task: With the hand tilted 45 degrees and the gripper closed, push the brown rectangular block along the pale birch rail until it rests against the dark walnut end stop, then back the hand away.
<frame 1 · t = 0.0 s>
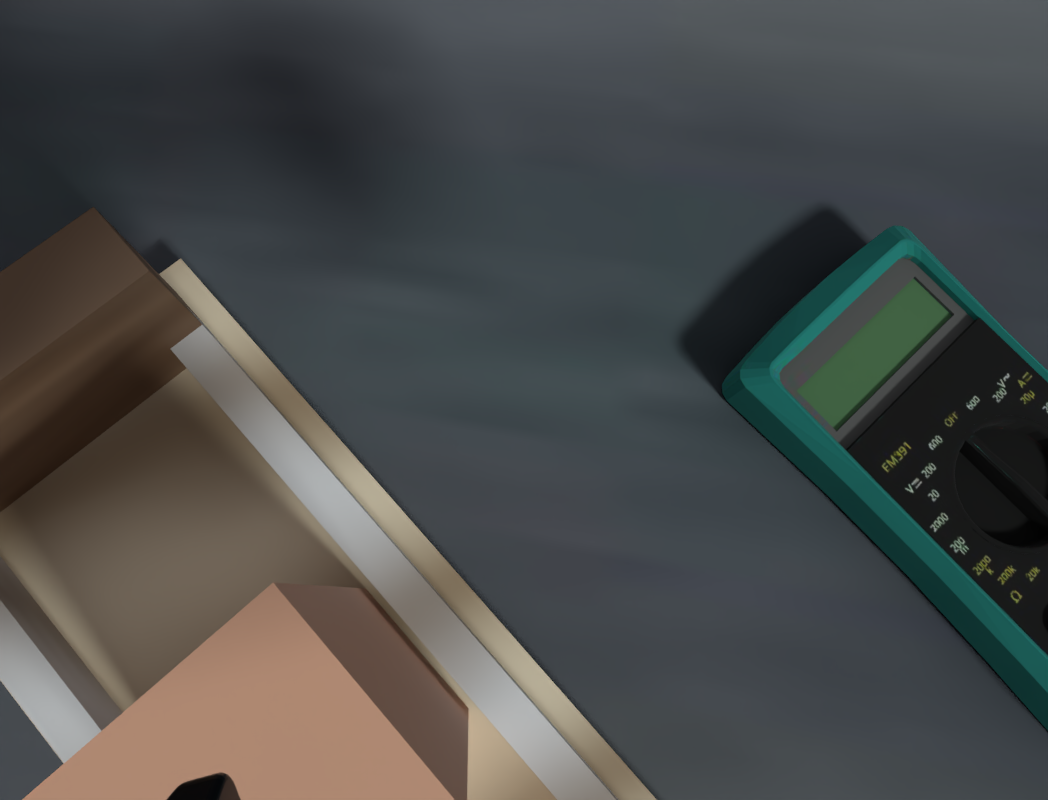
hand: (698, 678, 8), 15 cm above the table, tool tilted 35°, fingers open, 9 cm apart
rail: (311, 694, 21), on the table
digital multimeter: (948, 484, 25), on the table
brown rectangular block: (276, 778, 15), point 7 cm above the table, slide at 0.0 cm
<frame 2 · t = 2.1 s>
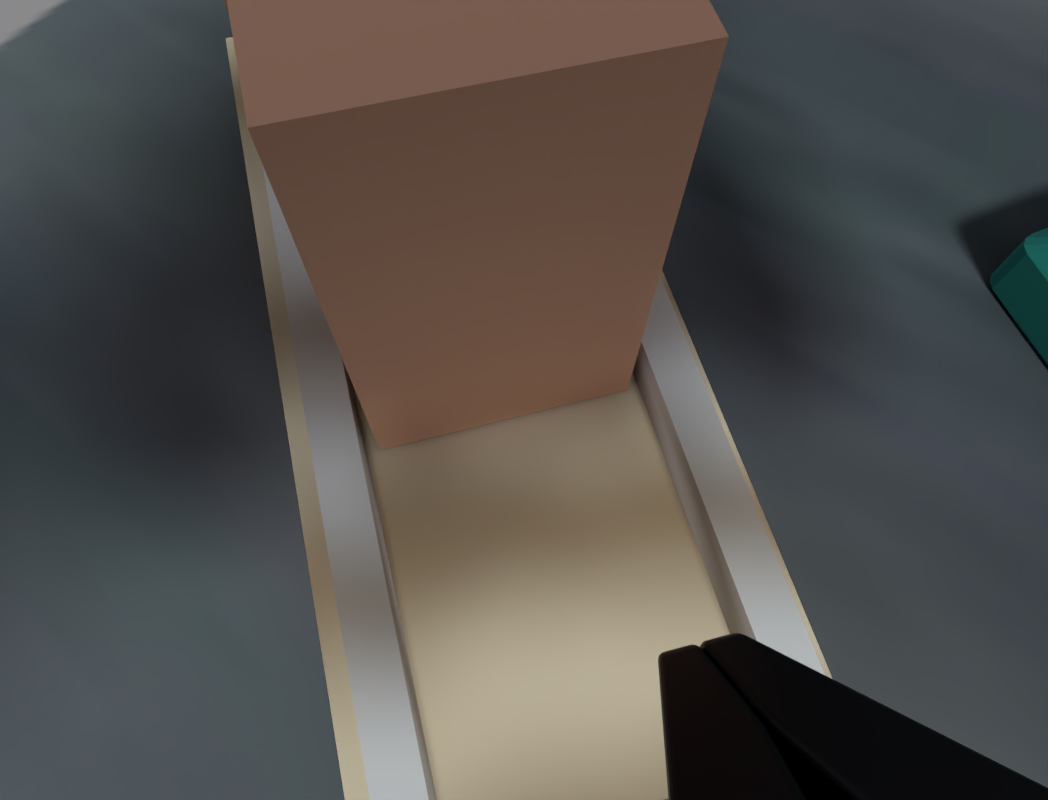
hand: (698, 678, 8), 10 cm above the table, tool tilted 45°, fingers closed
rail: (478, 345, 21), on the table
brown rectangular block: (476, 216, 15), point 7 cm above the table, slide at 0.0 cm
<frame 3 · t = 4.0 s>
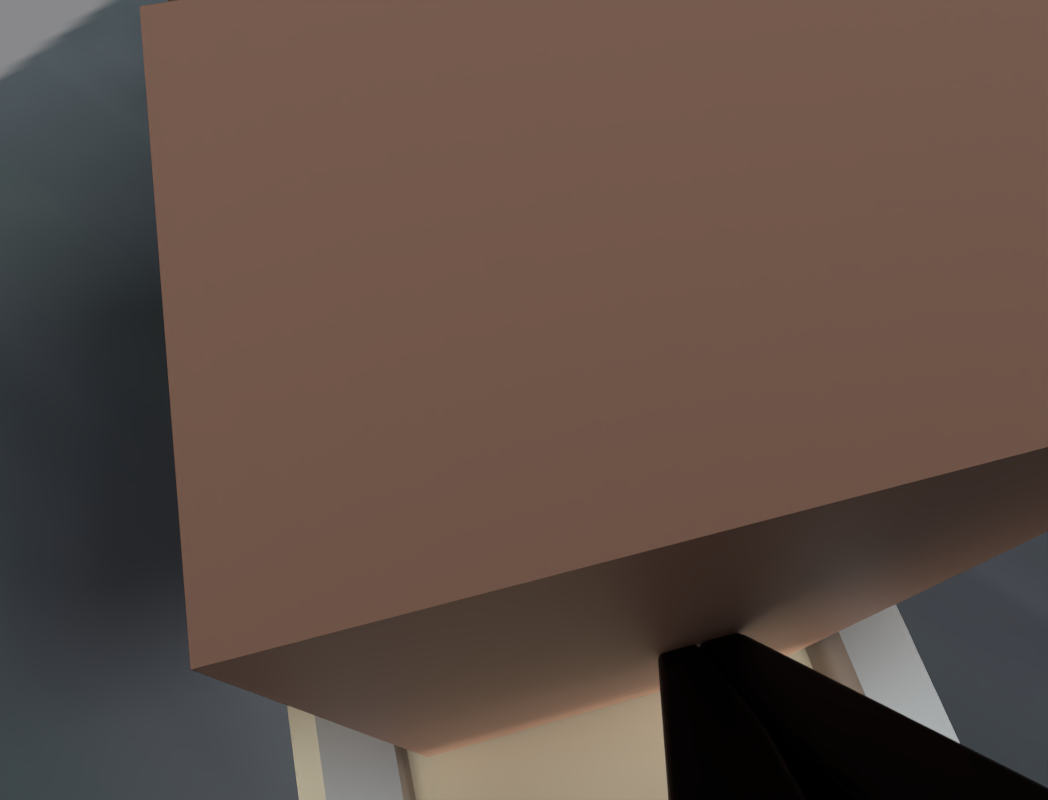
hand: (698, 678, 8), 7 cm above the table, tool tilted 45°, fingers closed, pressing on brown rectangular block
rail: (571, 598, 15), on the table
brown rectangular block: (612, 477, 9), point 7 cm above the table, slide at 0.9 cm, touching gripper
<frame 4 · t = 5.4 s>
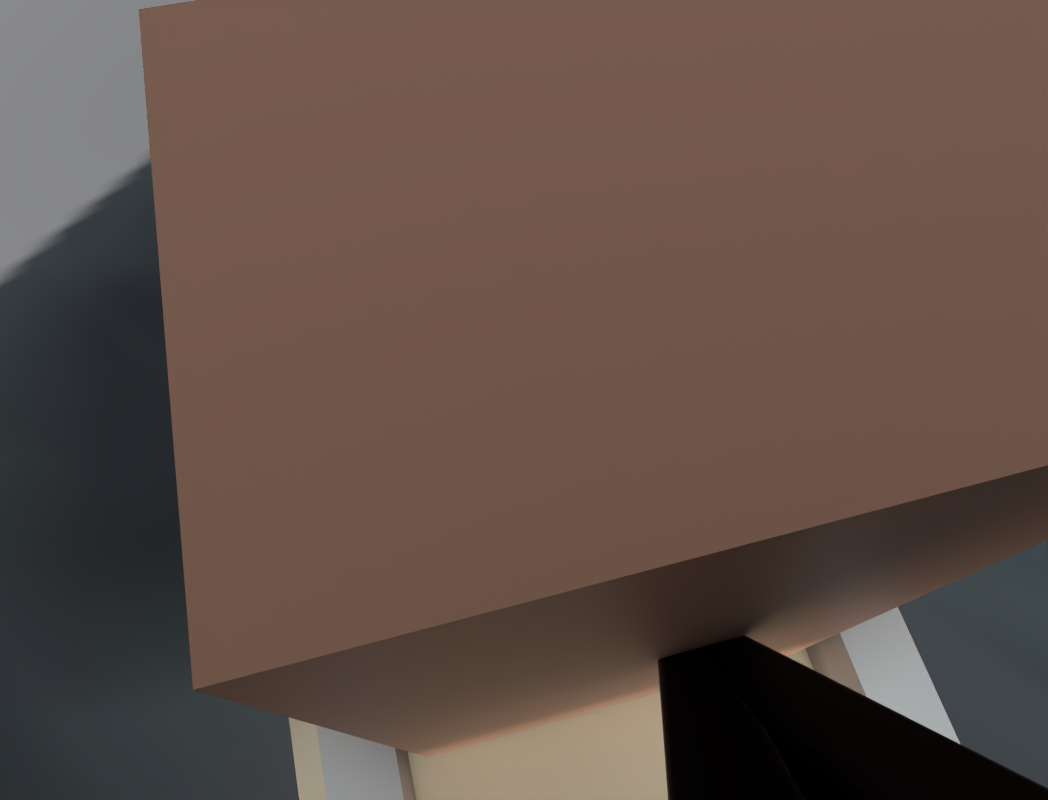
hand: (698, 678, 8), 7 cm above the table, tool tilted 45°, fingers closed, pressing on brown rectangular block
brown rectangular block: (614, 479, 9), point 7 cm above the table, slide at 7.7 cm, touching gripper
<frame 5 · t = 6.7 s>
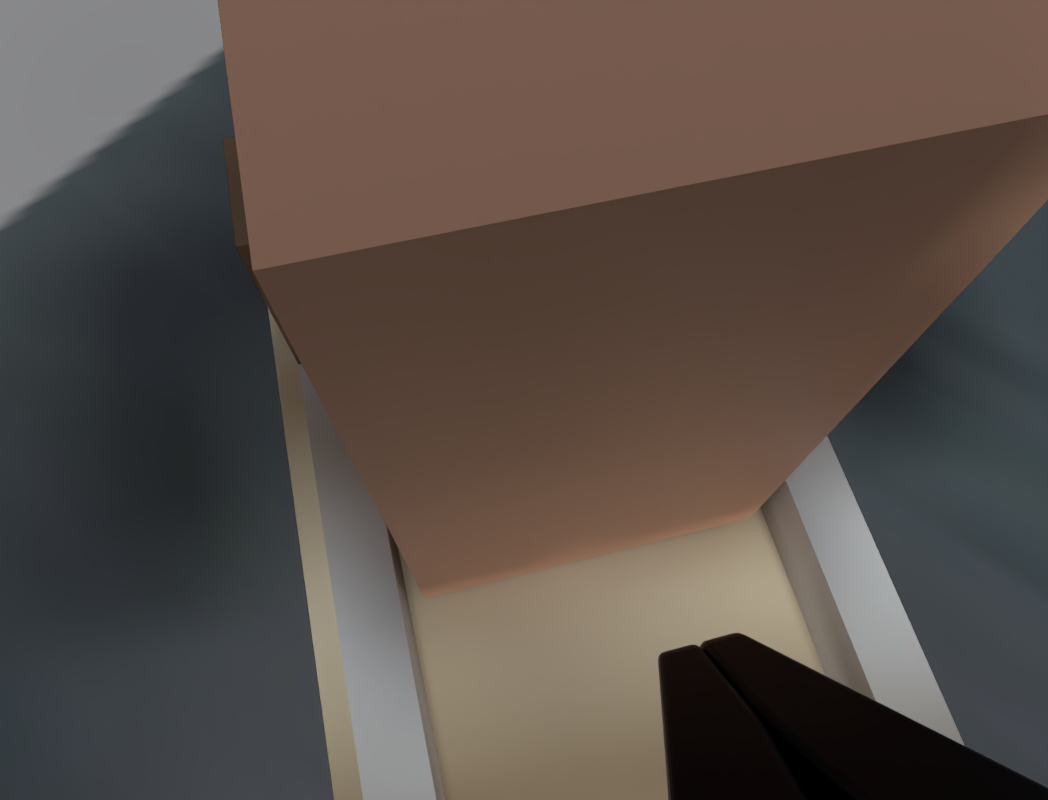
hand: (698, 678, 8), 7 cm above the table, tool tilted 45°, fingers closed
brown rectangular block: (582, 318, 10), point 7 cm above the table, slide at 7.5 cm
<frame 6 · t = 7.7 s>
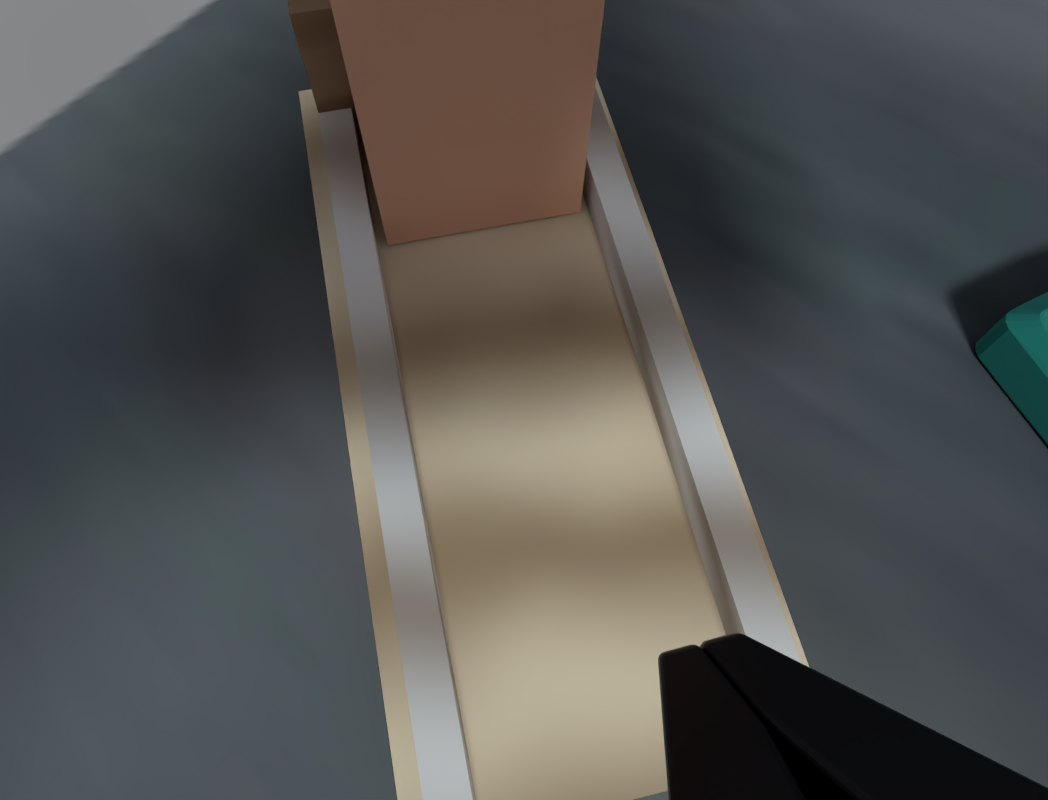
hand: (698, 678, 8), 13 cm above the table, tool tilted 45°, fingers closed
rail: (516, 380, 24), on the table
brown rectangular block: (463, 46, 21), point 7 cm above the table, slide at 7.5 cm
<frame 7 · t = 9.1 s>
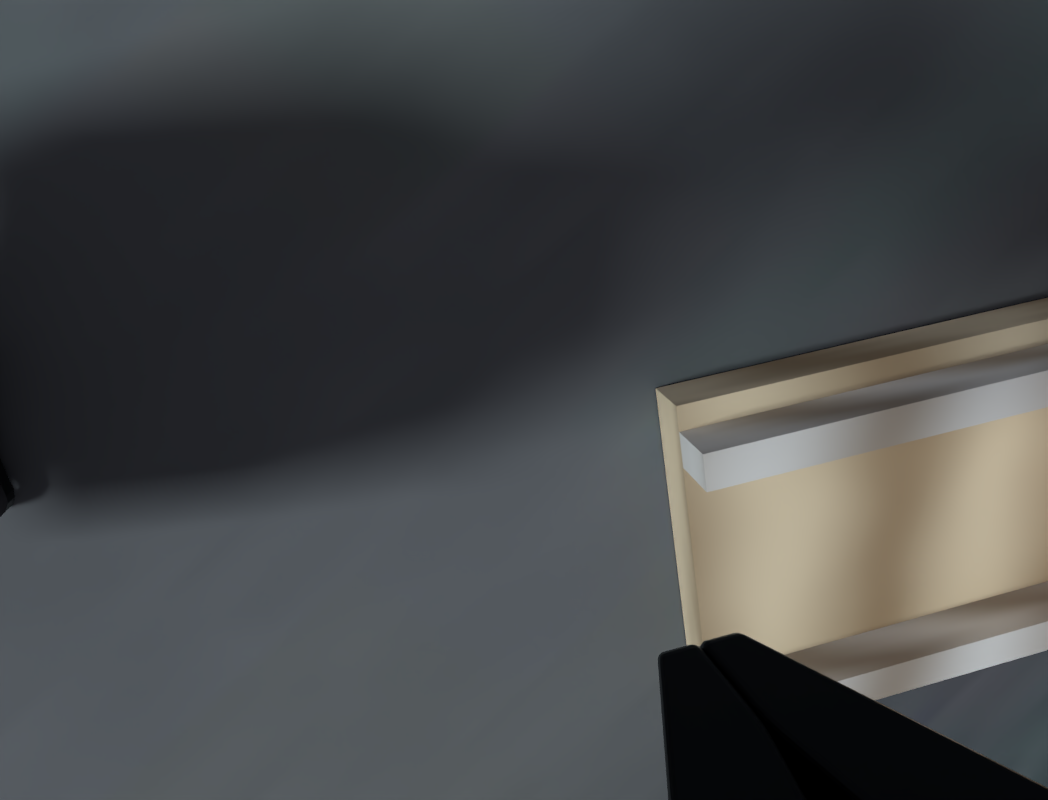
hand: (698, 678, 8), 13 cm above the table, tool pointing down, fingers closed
rail: (1033, 458, 24), on the table
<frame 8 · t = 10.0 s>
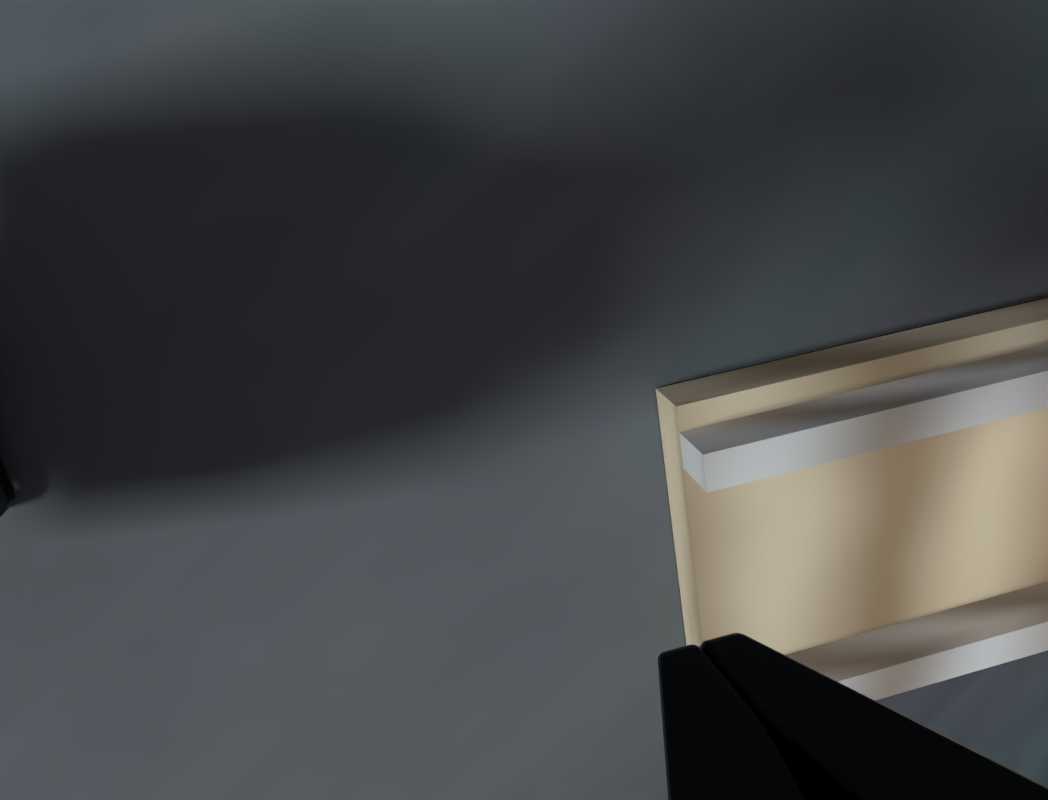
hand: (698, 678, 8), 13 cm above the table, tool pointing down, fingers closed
rail: (1033, 458, 24), on the table
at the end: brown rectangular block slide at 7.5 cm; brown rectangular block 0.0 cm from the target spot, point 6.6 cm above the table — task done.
